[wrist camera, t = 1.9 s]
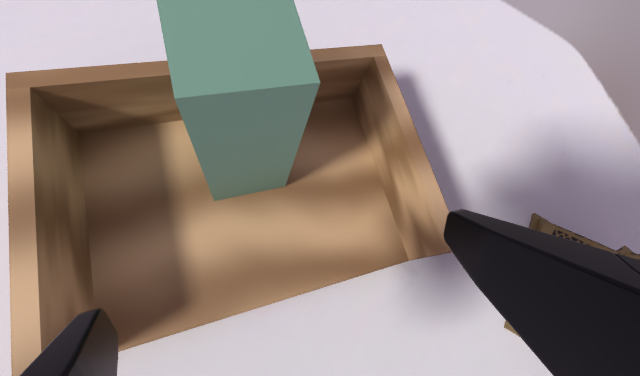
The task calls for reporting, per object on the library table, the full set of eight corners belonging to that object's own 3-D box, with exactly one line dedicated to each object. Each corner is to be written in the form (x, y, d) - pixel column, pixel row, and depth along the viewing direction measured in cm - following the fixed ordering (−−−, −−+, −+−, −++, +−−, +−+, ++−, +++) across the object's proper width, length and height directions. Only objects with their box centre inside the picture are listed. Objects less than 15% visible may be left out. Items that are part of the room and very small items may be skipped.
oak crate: (413, 258, 24) (463, 248, 18) (87, 360, 18) (12, 392, 12) (354, 94, 28) (381, 44, 22) (69, 129, 21) (5, 72, 16)
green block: (285, 186, 22) (320, 82, 11) (214, 201, 21) (174, 98, 10) (269, 126, 24) (286, -21, 13) (201, 136, 22) (153, -20, 11)
